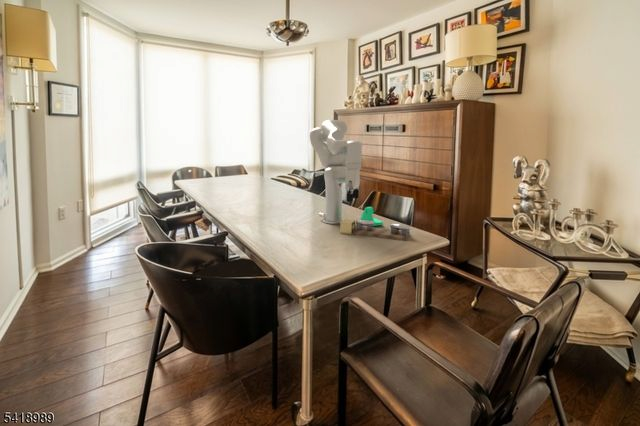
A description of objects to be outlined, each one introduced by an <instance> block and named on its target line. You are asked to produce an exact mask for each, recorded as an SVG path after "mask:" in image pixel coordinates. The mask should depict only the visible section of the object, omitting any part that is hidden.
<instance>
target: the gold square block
mask: <svg viewBox="0 0 640 426" xmlns="http://www.w3.org/2000/svg"><path fill="white" fill-rule="evenodd" d="M343 219H344V220H343V221H341V222H340V224H339V225H340V226H339V229H340V230H339V231H340V234H347V235H353V234H354V231H355V230H356V220H355V219H354V220H353V219H348V218H346V219H345V218H343Z"/></svg>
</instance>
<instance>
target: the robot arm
mask: <svg viewBox="0 0 640 426" xmlns="http://www.w3.org/2000/svg"><path fill="white" fill-rule="evenodd" d="M347 132H348V124H347V123H346V122H345V121H344V120H341V119H340V120H339V119H327V120H325V121H323V122H322V124H321V127H320V126H319V127H314V128H313V129H311V130H310V132H309V141H310V145H311V146H312V148H313V150H314V151H315V152H316V154H317V157H318V158H319V161H320V163H321V166H322V167H323V169H324V174H323V178H324V182H325V183H324V185H325V209H324V210H325V212H319V217H320V218H322V222H323V223H324V224H330V225H338V224H339V225H340V222H341V221H343V220H344V219H345V218H343V190H342V188H341V186H340V185H339V184H345V185H344V189H345V190H346V197H345V198H346V199H345V200H346V202H348V203H353V201H354V199H359V192H360V191H359V190H360V188H359V187H360V184H361V183H360V182H361V181H360V177H361V176H360V174H361V173H360V170H362V157H363V156H362V155H363V154H362V153H363V151H362V150H363V149H362V148H363V144H362V142H361V141H360V140H353V139H344V137H345V135H346V134H347Z"/></svg>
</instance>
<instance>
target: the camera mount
mask: <svg viewBox="0 0 640 426" xmlns="http://www.w3.org/2000/svg"><path fill="white" fill-rule="evenodd" d="M374 211H375V210H374V208H373V207H372V206H367V207H365V208H364V210H363V212H362V215H360V220H366V221H374V226H373V227H375V226H382V225H383V224H384V222H383V221H382V220H379V219H377V218H376V217H375V218H374V217H373V214H374Z"/></svg>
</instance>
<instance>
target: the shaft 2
mask: <svg viewBox="0 0 640 426" xmlns="http://www.w3.org/2000/svg"><path fill="white" fill-rule="evenodd" d="M389 227H390V228H389V229H391V233H392V234H397V233H398V232H399V231H402V232H401V235H403V236H407V235H408V234H409V232H411V231H410V228H411V227H410V225H406V224H399V223H394V222H391V223H390V226H389Z"/></svg>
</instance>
